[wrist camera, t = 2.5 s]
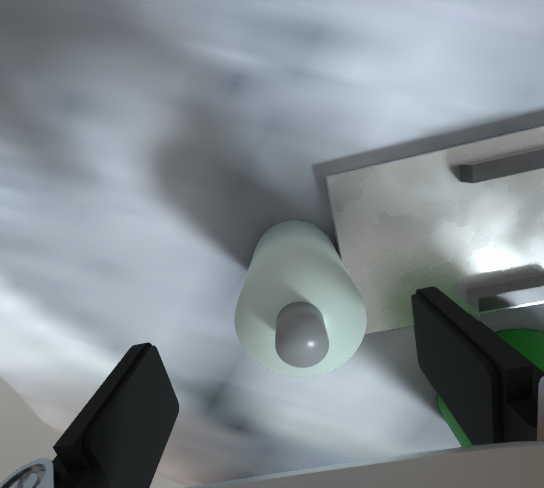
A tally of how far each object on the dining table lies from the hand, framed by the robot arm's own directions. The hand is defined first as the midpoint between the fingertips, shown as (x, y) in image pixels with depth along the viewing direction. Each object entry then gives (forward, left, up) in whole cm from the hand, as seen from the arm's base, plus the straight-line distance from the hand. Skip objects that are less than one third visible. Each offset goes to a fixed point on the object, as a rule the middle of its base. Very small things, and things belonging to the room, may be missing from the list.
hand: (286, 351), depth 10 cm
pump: (-1, 0, -10) cm, 10 cm away
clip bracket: (-14, +1, -10) cm, 17 cm away
